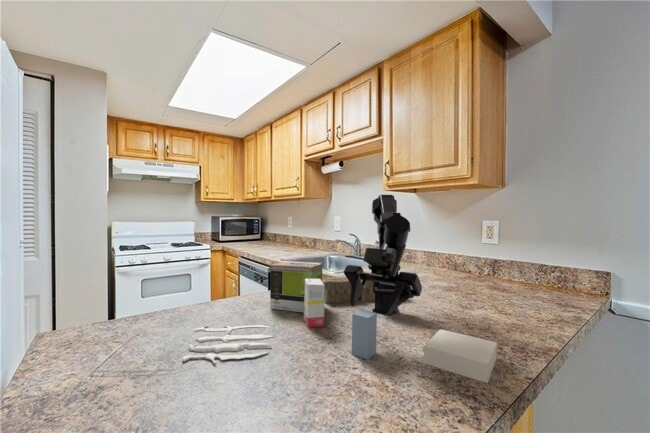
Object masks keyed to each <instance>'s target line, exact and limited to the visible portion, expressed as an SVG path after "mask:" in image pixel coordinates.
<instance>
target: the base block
mask: <svg viewBox="0 0 650 433" xmlns="http://www.w3.org/2000/svg"><path fill="white" fill-rule="evenodd" d="M497 343H498V342H496V341H492V340H488V339H483V338H479V337H475V336H471V335H467V334H462V333H458V332H453V331H449V330H446V329H442V328H441V329H438V331H436V333H435V334H434V335H433V336H432V337H431V338H430V339H429V340H427V342H426V343H425V344H424V345H423V362H422V363H423V364H425V365H427V366H431V367H435V368H437V369H440V370H444V371H447V372H451V373H454V374H456V375H460V376H464V377H466V378H469V379H473V380H476V381H479V382H483V383H486V384H488V383H489V380H490V378H491V374H492V372H493V370H494V367H495V364H496V362H497V356H498V354H497V352H498V347H497V345H498V344H497Z"/></svg>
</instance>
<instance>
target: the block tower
mask: <svg viewBox="0 0 650 433" xmlns="http://www.w3.org/2000/svg"><path fill="white" fill-rule="evenodd" d="M322 282H323V284H324V285H325V294H324V303H327V304H337V303H349V302H350V303H351V284H350V282H349V280H348V279H347V277H346V276H337V277H336V276H334V277H333V276H331V277H323V276H322ZM372 283H373V281H367V280H366V284H365V285H363V287H364V290H363V292H362V294H361V295H360V297H359V299H358V300H360V302H367V301H368V302H369V301H370V302H371V301H375V293H373V290H372ZM375 288H377V287H375Z"/></svg>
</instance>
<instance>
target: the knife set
mask: <svg viewBox="0 0 650 433" xmlns="http://www.w3.org/2000/svg"><path fill="white" fill-rule="evenodd" d="M199 325H200V326H201V325H203V326H202V327H198V328H195V329H194V330H193V331H192V334H194V333H196V332H206V333H210V332H215V333H214V334H213V336H207V335H202V336H201V337H197V338H196V339H195V341H197V342H199V343H205V342H209V343H208V344H207V345H203V346H202V345H199V346H195V347H194V345H193V344H191V343H189V347H188V350H189V351H190V352H192V351H193V352H196V353H202V354H201V355H189V354H188V355H184V356H183V357H182V361H183V363H185V362H187V361H189V360H190V359H191V360H192V359H194V360H195V359H198V360H197V361H196V362H194V363H193V364H190V365H187V366H186V368H189V367H190V366H194V365H196V364H198V362H200V360H201V359H205V360H210V361H211V362H212V364H215V365H217V361H216V360H215V359H219V360H220V361H226V360H241V359H254V358H258V357H260V356H264V355H268V354H269V353H270V351H265V352H264V351H263V352H258V353H257V352H256V353H246V354H222V355H219V354H218V353H222V352H224V353H225V352H233V353H234V352H235V353H237V352H239V351H244V349H247V350H257V349H272V345H271V344H269V343H266V342H234V341H246V340H247V341H257V340H264V339H269V338H274V337H276V336H274V335H269V334H268V335H267V334H260V333H259V334H247V335H246V334H245V335H244V334H243V335H241V334H240V335H239V334H238V335H235V334H233V335H232V334H231V332H232V331H235V330H240V329H250V328H252V329H253V328H255V329H257V328H258V329H273V327H272V326H268V325H262V324H250V325H249V324H248V325H241V326H239V325H238V326H237V325H236V326H228V325H223V326H224V328H223V327H222V328H220V324H219V323H217V325H218V327H217V328H208V327H209V326H205V325H206V324H205V323H204V324H203V323H202V324H197V326H199ZM175 326H177V327H178V326H181V324H174V325H170V327H175ZM160 327H162V325H157V326H154V328H160ZM152 328H153V326H152V327H151V326H150V327H147V328H144V329H142V330H141V331H139V332H138V333H136V334H134V335H132V336H131V337H130V338H128V339H127V340H125V342H123V343H121V345H120V346H118V347H117V348H116V349H115V350H114V351H112V352H111V353H110V354H109V355H107V356H106V358H104V359H103V360H102V361H101V362H100V363H99V364H97V365H96V366H95V367H94V368H93V369H92V370H90V373H99V374H100V373H149V372H150V373H151V372H153V373H154V372H155V373H156V372H168V371H176V370H177V368H173V369H163V370H162V369H161V370H131V371H130V370H127V371H126V370H120V371H119V370H118V371H117V370H116V371H115V370H114V371H112V370H111V371H110V370H109V371H105V370H104V371H96V370H95V369H97V368H98V367H99V366H100V365H101V364H103V363H104V362H105V361H106V360H107V359H108V358H109V357H110V356H112V355H113V353H115V352H116V351H118V349H119V348H121V347H122V346H123V345H125V344H126V343H127V342H128V341H130V340H131V339H133V338H134V337H135V336H137V335H138V334H141V333H143V332H144V331H146V330H148V329H152ZM217 332H225V333H224V334H225V335H223V336H215V335H216V333H217ZM213 341H222V343H219V344H214V345H210V343H211V342H213ZM232 341H233V343H228V342H232ZM212 352H214V353H212ZM205 353H207V354H205ZM204 354H205V355H204ZM180 369H181V368H178V370H180ZM94 370H95V371H94Z"/></svg>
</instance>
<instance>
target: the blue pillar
mask: <svg viewBox="0 0 650 433" xmlns="http://www.w3.org/2000/svg"><path fill="white" fill-rule="evenodd" d="M351 315H352V316H351V317H352V319H351V322H352V323H351V355H353V356H356V357H359V358H361V359H364V360H369V359H370V358H371V357H373V356H375V354H377V334H378V333H377V330H378V329H377V328H378V327H377V325H378V324H377V322H378V321H377V320H378V318H377V317H378V312H373V311H369V310H365V309H359V310H358V311H355V312H354V313H352V314H351Z"/></svg>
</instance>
